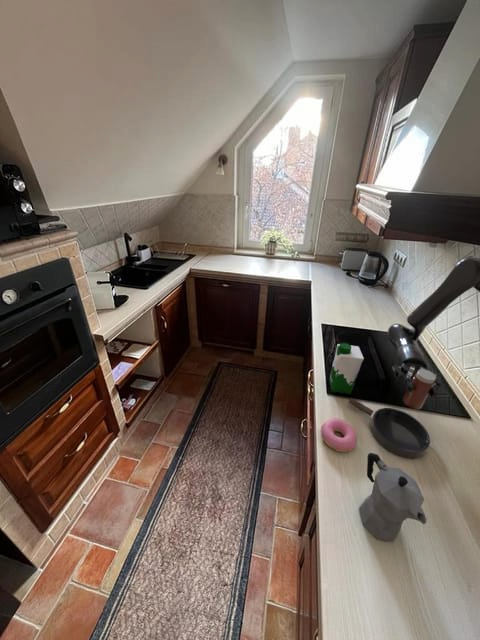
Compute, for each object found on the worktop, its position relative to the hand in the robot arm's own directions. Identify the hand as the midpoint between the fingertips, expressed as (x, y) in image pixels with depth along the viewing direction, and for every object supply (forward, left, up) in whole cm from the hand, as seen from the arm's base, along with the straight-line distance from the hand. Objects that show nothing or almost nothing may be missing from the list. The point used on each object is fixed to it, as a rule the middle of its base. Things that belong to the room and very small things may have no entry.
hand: (422, 392), depth 75 cm
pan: (+2, +1, -18) cm, 18 cm away
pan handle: (+11, -8, -16) cm, 21 cm away
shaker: (-1, -2, -7) cm, 7 cm away
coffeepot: (+19, +24, -18) cm, 36 cm away
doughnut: (+22, +3, -18) cm, 29 cm away
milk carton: (+15, -20, -18) cm, 30 cm away
